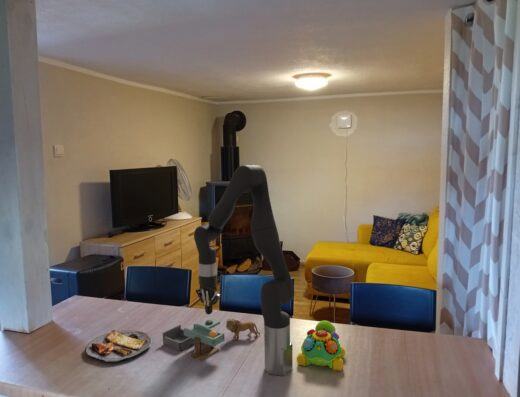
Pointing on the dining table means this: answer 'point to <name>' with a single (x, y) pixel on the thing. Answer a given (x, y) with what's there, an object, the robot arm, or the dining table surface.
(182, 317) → the dining table surface
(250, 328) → the lion figurine
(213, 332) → the ball
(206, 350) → the fulcrum
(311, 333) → the turtle toy
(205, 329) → the lever
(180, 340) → the tray
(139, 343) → the food plate
